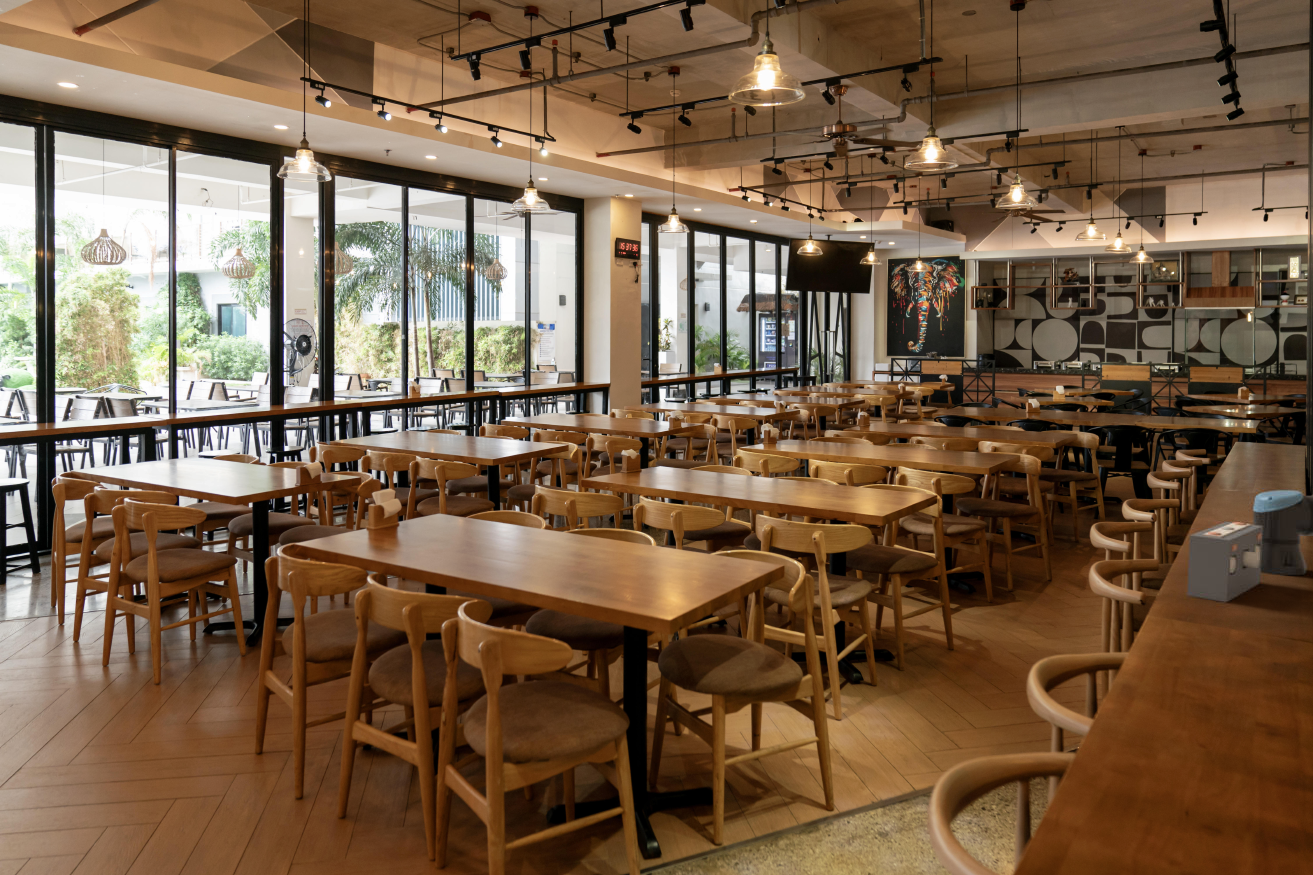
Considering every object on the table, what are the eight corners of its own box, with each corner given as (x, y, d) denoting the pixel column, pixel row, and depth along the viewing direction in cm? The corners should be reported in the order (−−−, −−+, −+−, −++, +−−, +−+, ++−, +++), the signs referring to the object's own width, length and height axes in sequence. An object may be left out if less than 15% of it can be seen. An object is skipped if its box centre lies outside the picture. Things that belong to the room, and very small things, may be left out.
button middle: (1235, 563, 241) (1236, 548, 241) (1259, 566, 237) (1260, 551, 237) (1231, 565, 239) (1231, 550, 238) (1255, 569, 234) (1255, 554, 234)
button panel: (1223, 577, 255) (1225, 519, 254) (1261, 583, 248) (1264, 523, 247) (1187, 595, 235) (1190, 532, 234) (1227, 602, 228) (1230, 537, 227)
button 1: (1211, 568, 236) (1212, 553, 235) (1235, 571, 232) (1236, 556, 231) (1206, 570, 233) (1207, 555, 233) (1230, 573, 229) (1231, 558, 229)
